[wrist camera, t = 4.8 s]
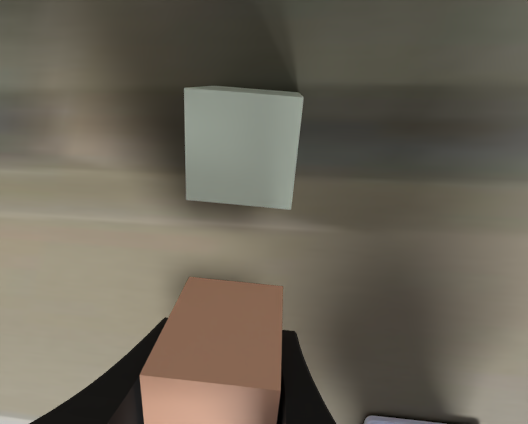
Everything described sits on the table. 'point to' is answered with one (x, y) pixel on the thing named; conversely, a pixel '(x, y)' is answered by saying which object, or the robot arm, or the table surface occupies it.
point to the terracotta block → (217, 356)
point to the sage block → (241, 145)
